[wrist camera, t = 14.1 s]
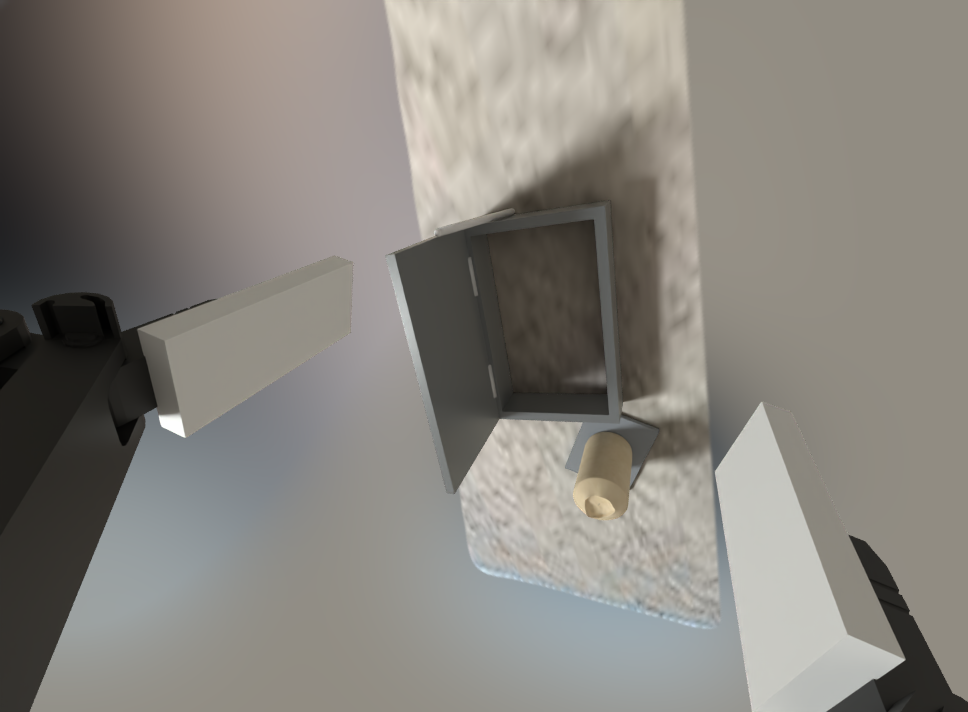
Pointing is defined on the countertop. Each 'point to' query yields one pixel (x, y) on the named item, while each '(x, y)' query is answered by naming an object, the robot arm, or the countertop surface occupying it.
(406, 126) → the countertop surface
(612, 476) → the candle
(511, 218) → the case
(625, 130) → the countertop surface
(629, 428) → the mat
